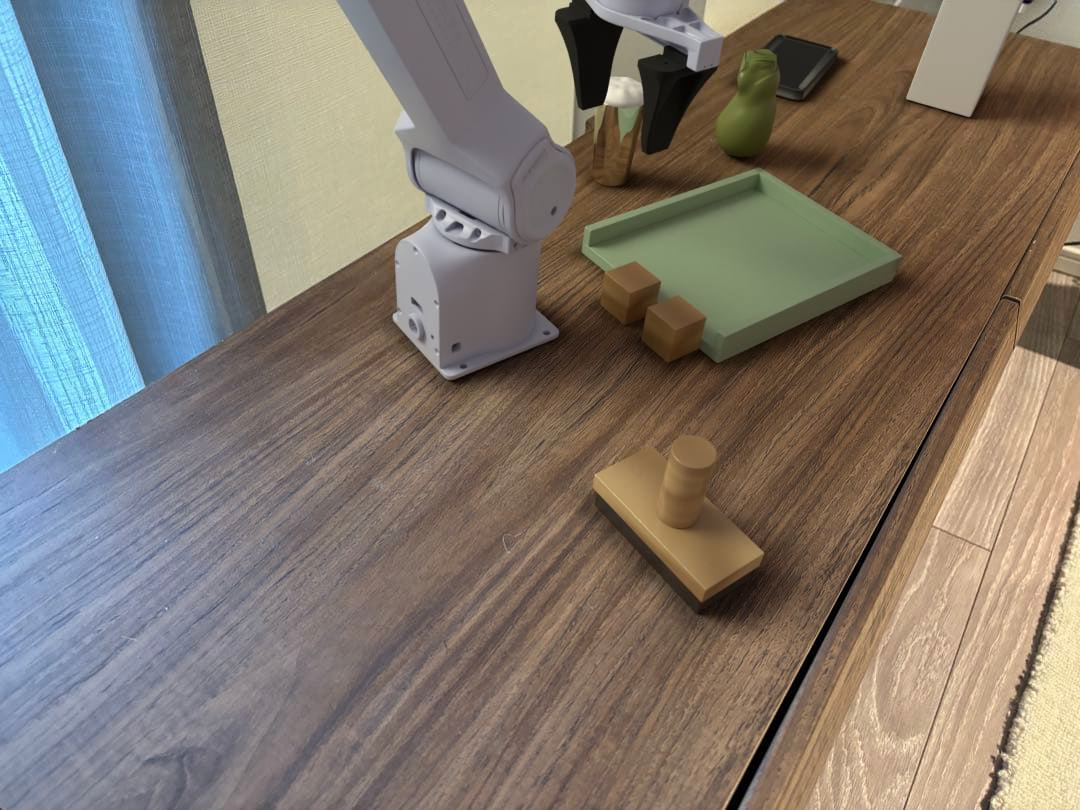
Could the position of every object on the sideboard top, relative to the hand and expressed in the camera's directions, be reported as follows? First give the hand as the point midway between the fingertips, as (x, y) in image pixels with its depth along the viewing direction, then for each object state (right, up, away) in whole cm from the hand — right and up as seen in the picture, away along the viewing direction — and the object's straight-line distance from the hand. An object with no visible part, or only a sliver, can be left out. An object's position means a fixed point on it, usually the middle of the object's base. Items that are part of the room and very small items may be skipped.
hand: (621, 127), depth 65 cm
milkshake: (+1, 0, +15) cm, 15 cm away
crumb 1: (0, -13, +1) cm, 13 cm away
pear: (+13, +4, +21) cm, 25 cm away
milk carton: (+39, +14, +34) cm, 54 cm away
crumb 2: (+3, -16, -2) cm, 17 cm away
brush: (+1, -29, -15) cm, 32 cm away
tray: (+10, -9, +6) cm, 15 cm away
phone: (+22, +18, +36) cm, 46 cm away
